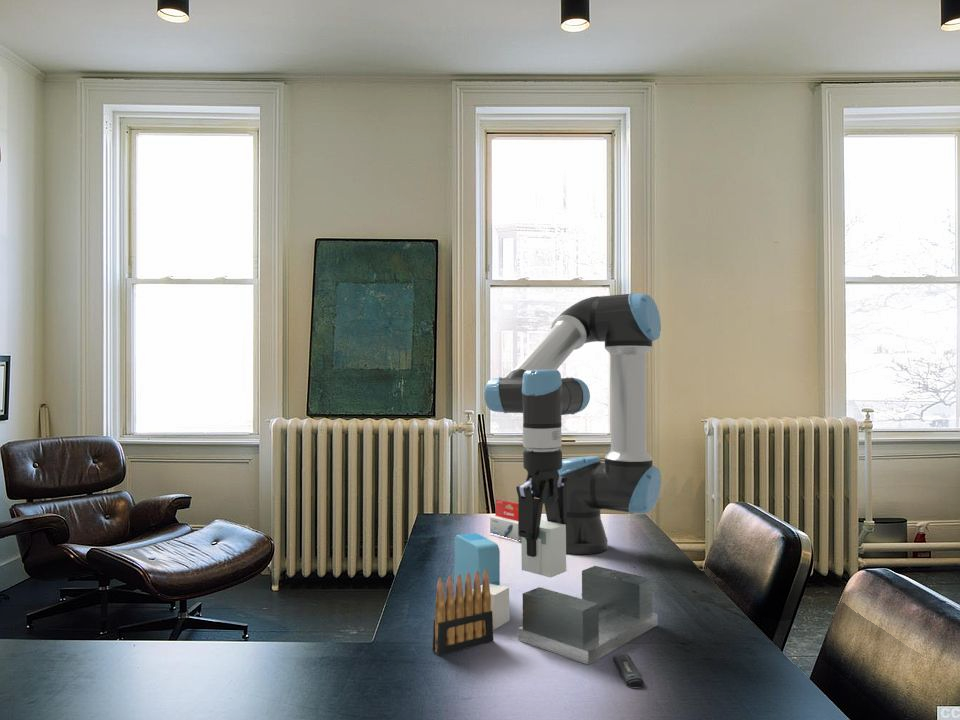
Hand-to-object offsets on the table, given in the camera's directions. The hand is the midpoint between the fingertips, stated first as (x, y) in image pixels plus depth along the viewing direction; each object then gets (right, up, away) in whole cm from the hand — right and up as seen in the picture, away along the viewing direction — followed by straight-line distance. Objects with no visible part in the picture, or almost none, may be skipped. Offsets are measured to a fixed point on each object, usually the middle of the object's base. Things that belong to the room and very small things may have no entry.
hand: (544, 568), depth 128 cm
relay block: (-11, -7, -9) cm, 15 cm away
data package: (-13, -7, +3) cm, 15 cm away
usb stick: (+10, -7, -29) cm, 32 cm away
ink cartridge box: (-5, -9, +53) cm, 54 cm away
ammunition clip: (-15, -7, -20) cm, 26 cm away
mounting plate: (+7, -7, -14) cm, 17 cm away
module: (0, 0, 0) cm, 0 cm away
